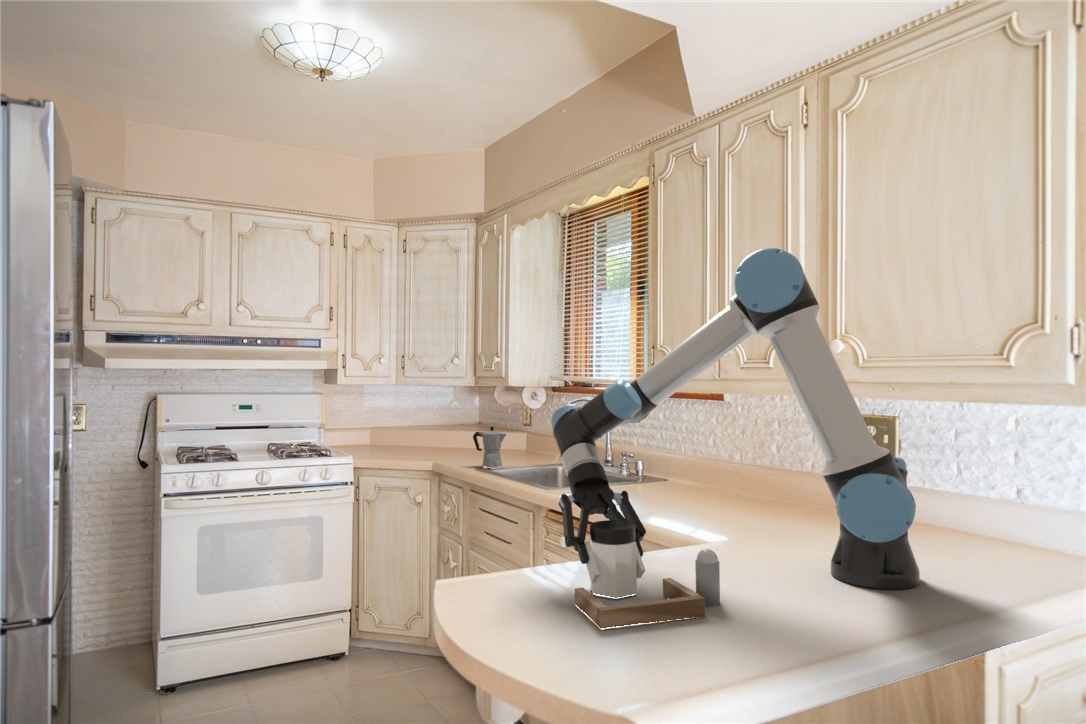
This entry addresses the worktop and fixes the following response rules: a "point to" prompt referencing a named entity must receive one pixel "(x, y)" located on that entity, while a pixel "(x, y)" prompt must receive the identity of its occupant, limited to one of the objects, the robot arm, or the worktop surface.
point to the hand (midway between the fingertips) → (618, 576)
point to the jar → (614, 557)
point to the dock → (644, 607)
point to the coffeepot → (490, 447)
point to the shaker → (708, 577)
